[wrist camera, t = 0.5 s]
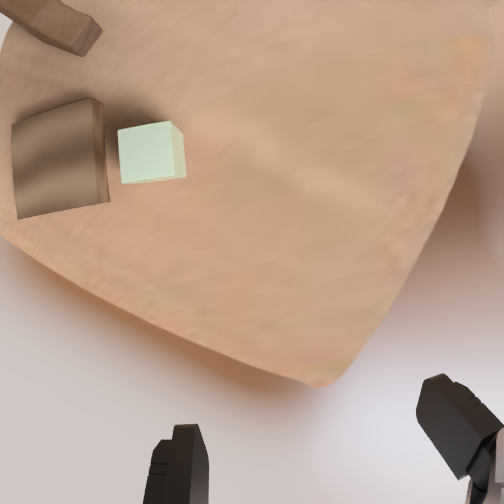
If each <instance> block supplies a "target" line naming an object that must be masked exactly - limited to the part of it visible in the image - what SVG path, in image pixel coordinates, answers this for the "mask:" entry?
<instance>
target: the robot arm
mask: <svg viewBox="0 0 504 504" xmlns="http://www.w3.org/2000/svg"><path fill="white" fill-rule="evenodd" d="M416 416H417V420H418V423H419V424H420V426H421V427H422V429H423V430H424V431H425V433H426V434H427V436H428V437H429V438H430V440H431V441H432V442H433V444H434V446H435V447H436V449H437V450H438V451H439V453H440V454H441V456H442V457H443V458H444V460H445V462H446V463H447V465H448V466H449V467H450V469H451V470H452V472H453V473H454V475H455V476H456V478H457V479H458V480H460V479H462V478H464V477H465V476H467V475H469V476H470V477H471V479H470V481H469V484H468V491H467V497H466V502H465V504H504V425H503V424H502V423H501V422H500V420H498V418H497V417H496V416H495V415H494V414H493V413H492V412H491V411H490V410H489V409H488V408H487V407H486V406H485V405H484V404H483V403H481V401H480V400H479V399H478V398H477V397H475V395H474V394H473V393H472V392H471V391H470V390H469V389H468V387H466V386H464V385H462V384H460V383H458V382H454V383H453V382H452V381H451V379H449V377H448V376H447V375H445V374H439V375H436V376H434V377H431V378H428V379H426V380H424V382H423V385H422V389H421V393H420V397H419V401H418V404H417V408H416ZM208 489H209V460H208V454H207V450H206V447H205V444H204V441H203V438H202V435H201V432H200V429H199V426H198V424H184V425H175V426H174V430H173V436H172V440H161V441H160V442H159V443H158V445H157V446H156V447H155V449H154V450H153V453H152V458H151V465H150V469H149V476H148V479H147V483H146V489H145V494H144V500H143V504H208V491H209V490H208Z"/></svg>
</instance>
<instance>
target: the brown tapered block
mask: <svg viewBox="0 0 504 504" xmlns="http://www.w3.org/2000/svg"><path fill="white" fill-rule="evenodd" d="M12 163H13V180H14V191H15V201H16V210H17V217H18V220H19V219H23V218H28V217H33V216H37V215H42V214H47V213H52V212H57V211H62V210H67V209H72V208H78V207H83V206H89V205H95V204H100V203H105V202H110V196H109V187H108V177H107V165H106V152H105V135H104V104H102V103H100V102H99V101H97V100H95V99H93V98H88V99H85V100H81V101H78V102H75V103H71V104H68V105H65V106H62V107H59V108H56V109H53V110H50V111H47V112H44V113H41V114H38V115H35V116H33V117H30V118H27V119H25V120H22V121H20V122H17V123H15V124H12Z"/></svg>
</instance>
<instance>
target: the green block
mask: <svg viewBox="0 0 504 504" xmlns="http://www.w3.org/2000/svg"><path fill="white" fill-rule="evenodd" d="M118 145H119V159H120V171H121V182H122V184H127V183H148V182H155V181H162V180H169V179H176V178H184V177H187V176H186V166H185V155H184V143H183V134H182V133H181V132H180V130H179V129H178V128H177V127H176V126H175V125H174V124H173V123H172V122H171V121H165V122H159V123H153V124H147V125H141V126H136V127H131V128H126V129H121V130H118Z"/></svg>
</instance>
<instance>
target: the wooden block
mask: <svg viewBox="0 0 504 504" xmlns="http://www.w3.org/2000/svg"><path fill="white" fill-rule="evenodd" d="M0 12H1V13H3V14H4V15H5V16H7V17H8V18H10V19H12V20H13V21H14V22H16V23H17V24H19V25H20V26H21V27H23V28H24V29H26V30H27V31H29V32H30V33H32V34H33V35H34V36H36V37H37V38H39V39H40V40H42V41H43V42H45V43H48V44H51V45H53V46H56V47H58V48H61V49H64V50H66V51H69V52H71V53H74V54H76V55H78V56H81V57H84V56H85V55H86V53H87V52H88V50H89V49H90V48H91V46H92V45H93V43H94V42H95V41H96V39H97V38H98V37H99V35H100V34H101V33H102V29H101V28H100V27H99V25H98V24H97V23H96V22H95V21H94V20H93V18H92V17H91V16H88V15H86V14H83V13H80V12H78V11H75V10H74V9H72V8H70V7H69V6H67V5H65V4H64V3H62V2H61V1H60V0H0Z"/></svg>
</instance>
